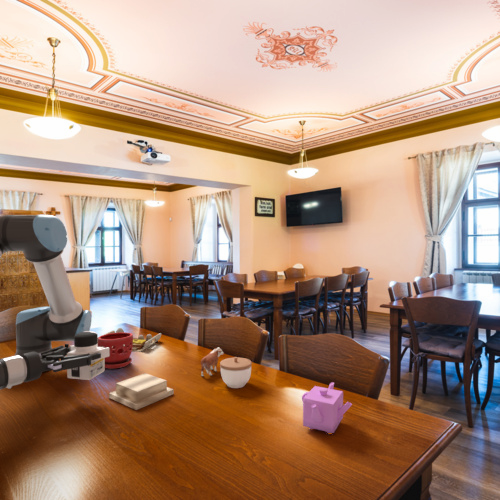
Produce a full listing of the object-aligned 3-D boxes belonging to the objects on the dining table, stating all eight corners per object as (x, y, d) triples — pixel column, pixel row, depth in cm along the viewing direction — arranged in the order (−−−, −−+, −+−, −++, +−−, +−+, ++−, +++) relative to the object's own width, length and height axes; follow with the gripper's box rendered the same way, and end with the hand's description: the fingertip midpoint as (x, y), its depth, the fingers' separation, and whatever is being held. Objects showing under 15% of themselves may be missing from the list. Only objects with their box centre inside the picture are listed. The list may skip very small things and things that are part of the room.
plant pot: (138, 360, 150) (138, 331, 150) (124, 371, 137) (124, 339, 137) (108, 359, 151) (107, 330, 151) (91, 370, 138) (91, 339, 138)
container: (89, 380, 107) (89, 336, 106) (66, 378, 108) (66, 335, 108) (105, 371, 114) (104, 330, 114) (83, 369, 116) (82, 329, 115)
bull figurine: (225, 367, 141) (225, 346, 141) (207, 379, 129) (207, 356, 129) (215, 365, 143) (215, 345, 143) (196, 377, 131) (196, 354, 130)
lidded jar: (258, 384, 124) (258, 357, 124) (235, 393, 116) (235, 364, 116) (236, 376, 131) (235, 350, 131) (213, 385, 123) (213, 357, 123)
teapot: (342, 450, 84) (342, 408, 84) (289, 436, 90) (289, 397, 90) (359, 418, 100) (359, 382, 99) (313, 407, 106) (313, 374, 106)
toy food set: (93, 351, 165) (93, 334, 164) (113, 340, 183) (113, 325, 182) (146, 353, 161) (146, 335, 161) (161, 342, 179) (161, 326, 179)
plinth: (108, 397, 113) (108, 383, 113) (146, 384, 124) (146, 370, 124) (136, 410, 105) (136, 394, 105) (173, 394, 116) (173, 380, 116)
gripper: (5, 373, 104) (80, 353, 121) (40, 393, 90) (120, 367, 108) (4, 347, 103) (80, 331, 121) (40, 363, 90) (119, 342, 108)
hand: (99, 348), depth 115 cm, fingers closed on container, 10 cm apart
